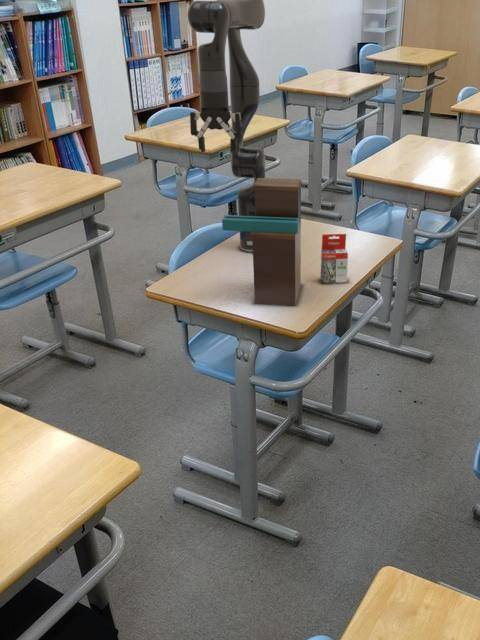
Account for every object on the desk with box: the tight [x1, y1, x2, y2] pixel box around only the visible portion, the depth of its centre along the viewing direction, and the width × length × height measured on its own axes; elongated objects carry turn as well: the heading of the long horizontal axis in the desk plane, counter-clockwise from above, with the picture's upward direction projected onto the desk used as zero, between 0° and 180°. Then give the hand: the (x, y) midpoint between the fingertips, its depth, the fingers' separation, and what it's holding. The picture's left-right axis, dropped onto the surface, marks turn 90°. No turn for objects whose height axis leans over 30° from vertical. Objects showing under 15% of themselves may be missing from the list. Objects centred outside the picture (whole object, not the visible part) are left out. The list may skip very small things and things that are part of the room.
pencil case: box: [221, 214, 299, 234], centre depth 179 cm, size 4×21×3 cm, turn 85°
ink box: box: [320, 233, 349, 284], centre depth 200 cm, size 4×8×15 cm, turn 98°
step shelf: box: [250, 177, 302, 307], centre depth 186 cm, size 15×12×32 cm
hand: (218, 151), depth 183 cm, fingers open, 8 cm apart
